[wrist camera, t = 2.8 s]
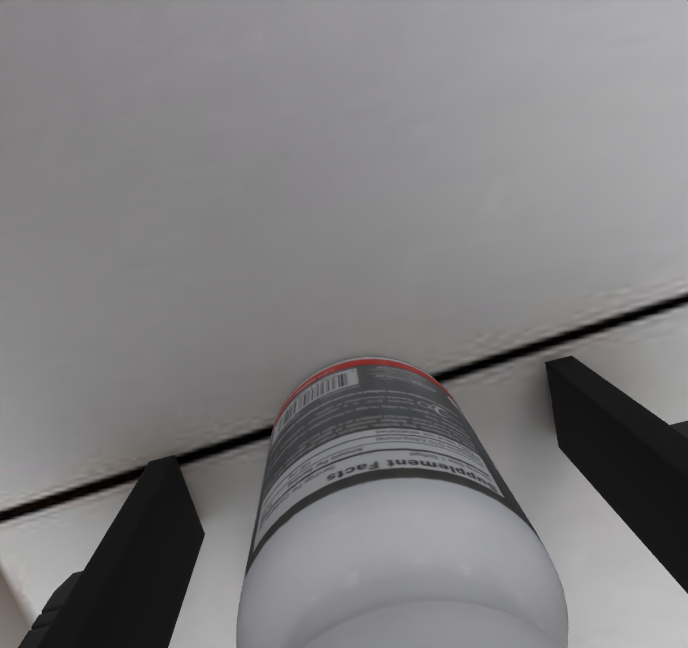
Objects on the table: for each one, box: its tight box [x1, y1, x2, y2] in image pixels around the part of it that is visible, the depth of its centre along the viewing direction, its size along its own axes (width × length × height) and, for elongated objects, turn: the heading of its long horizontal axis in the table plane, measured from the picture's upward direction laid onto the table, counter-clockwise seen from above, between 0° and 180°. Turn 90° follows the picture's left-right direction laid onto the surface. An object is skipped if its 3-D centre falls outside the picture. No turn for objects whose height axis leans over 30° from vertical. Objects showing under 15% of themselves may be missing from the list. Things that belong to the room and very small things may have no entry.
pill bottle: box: [236, 357, 568, 648], centre depth 11 cm, size 6×6×10 cm
